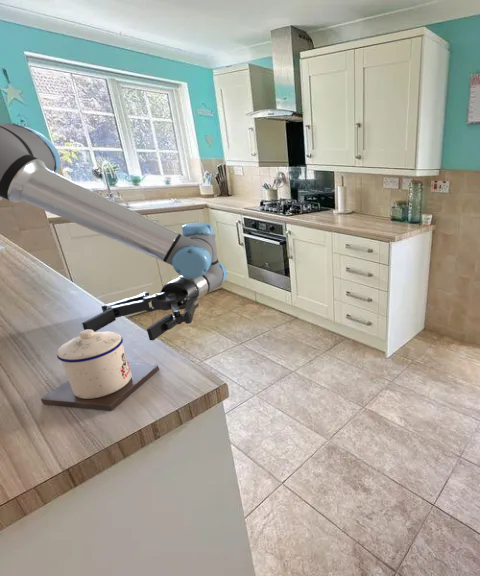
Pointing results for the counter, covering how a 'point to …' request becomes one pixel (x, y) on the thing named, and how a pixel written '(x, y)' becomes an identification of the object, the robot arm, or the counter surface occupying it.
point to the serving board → (108, 402)
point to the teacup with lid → (95, 363)
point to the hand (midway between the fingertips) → (117, 331)
